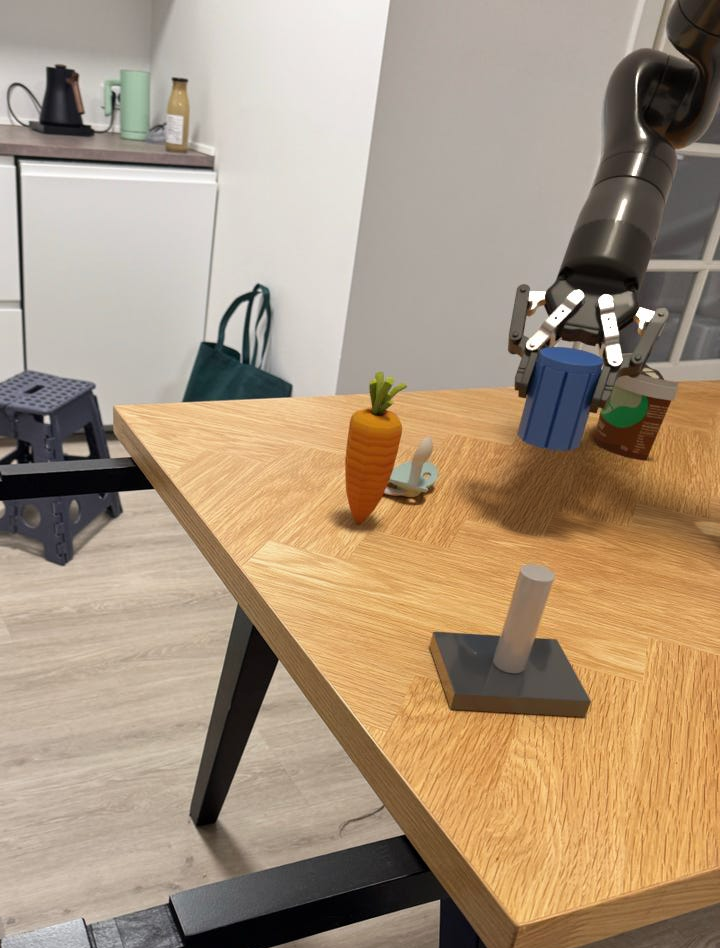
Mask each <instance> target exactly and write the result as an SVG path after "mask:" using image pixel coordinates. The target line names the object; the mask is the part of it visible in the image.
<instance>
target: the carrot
mask: <svg viewBox="0 0 720 948" xmlns="http://www.w3.org/2000/svg"><path fill="white" fill-rule="evenodd" d="M384 374H385V373H384V372H383V371H377V372H375V375H374V378H372V379H370V380H369V385H368V387H369V388H368V390H369V396H370V402H371V407H365V408H363V409H359V410H356V411H355V412H353V413H352V415H351V417H350V420H349V426H348V433H347V441H346V449H345V459H344V471H345V472H344V473H345V475H344V476H345V477H344V478H345V491H346V497H347V502H348V506H349V509H350V513H351V515H352V519H353V521H354V522H355V523H356V524H357V525H361V524H363V523H364V522H366V520H367V519H368V518H369V517H370V516H371V514H373V512H374V511H375V510H376V508H377V506H378V505H379V503H380V502H381V500H382V498H383V496H384V494H385V493H384V491H385V489H386V487H388V484H389V483H390V482H389V479H390V477H391V474H392V471H393V469H395V464H396V460H397V456H398V451H399V447H400V444H401V439H402V434H403V425H402V422H401V420H400V418H399V416H398V414H397V413H395V412H393V411H390V410H388V409H389V408H390V407H391V406H393V405H394V401H393V400H392V399H393V398H394V397H395V396H396V395H397V394H398V393H399V392H401V391H403V390H405V389H406V388H408V385H407V383H405V382H401V383H399V384H397V385H396V386H394V387H393V385H394V383H395V381H396V379H394V378H393V377H392V376H387V377H386V378H385V375H384ZM384 379H385V380H384ZM392 387H393V388H392Z"/></svg>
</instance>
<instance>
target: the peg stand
mask: <svg viewBox="0 0 720 948" xmlns="http://www.w3.org/2000/svg"><path fill="white" fill-rule="evenodd" d="M555 579H556V575H555V572H553V571H552V570H551V569H550V568H548V567H546V566H543V565H540V564H535V563H529V564H528V563H527V564H524V565H521V567H520V568H519V572H518V576H517V578H516V582H515V585H514V589H513V591H512V595H511V599H510V602H509V605H508V608H507V612H506V616H505V619H504V621H503V625H502V629H501V632H500V634H499V635H498V634H497V635H496V634H480V633H466V632H450V631H435V630H434V631H432V634H431V637H430V642H429V649H430V652H431V655H432V658H433V661H434V663H435V664H434V665H435V668H436V670H437V673H438V676H439V679H440V683H441V685H442V687H443V691H444V694H445V696H446V700H447V703H448V705H449V709H450V710H453V711H454V710H455V711H471V712H491V713H507V714H525V715H542V716H557V717H558V716H560V717H574V718H585V717H586V716H587V713H588V711H589V708H590V705H591V703H592V700H591V699H590V697H589V696H590V695H588V692H587V691H586V689H585V688H584V685H583V684H582V681H581V680H580V678H579V677H578V675H577V673H576V671H575V669H574V668H573V666H572V664H571V662H570V661H569V658H568V656H567V655H566V653H565V651H564V649H563V648H562V646H561V644H560V642H559V640H558V639H557V638H545V637H537V634H538V631H539V627H540V624H541V622H542V619H543V615H544V613H545V609H546V608H547V607H546V606H547V604H548V600H549V598H550V594H551V591H552V588H553V585H554V583H555Z"/></svg>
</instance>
